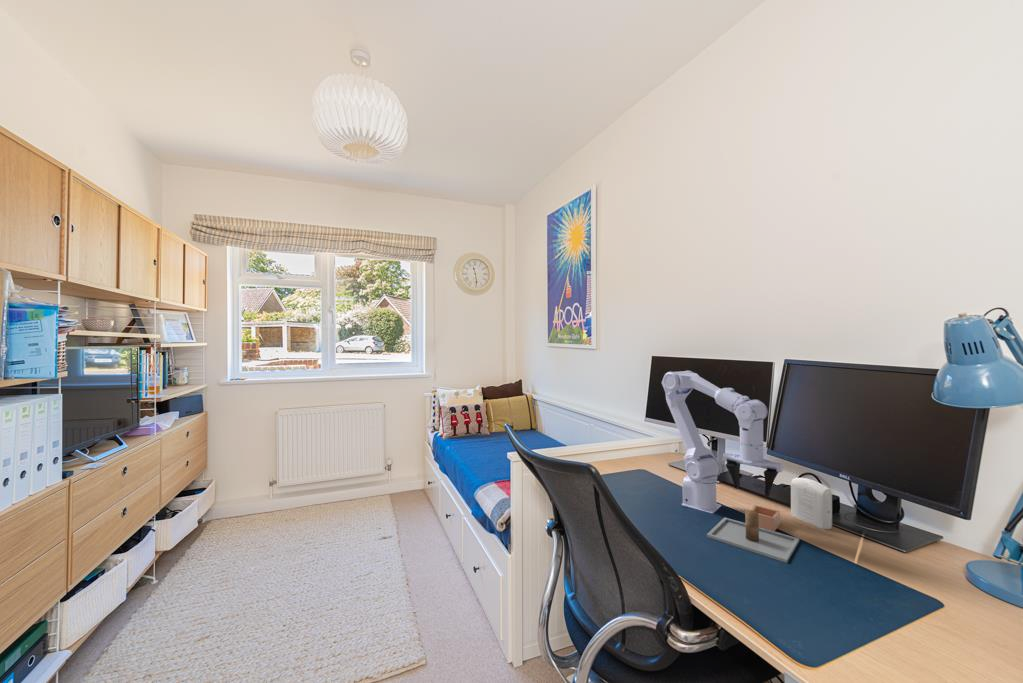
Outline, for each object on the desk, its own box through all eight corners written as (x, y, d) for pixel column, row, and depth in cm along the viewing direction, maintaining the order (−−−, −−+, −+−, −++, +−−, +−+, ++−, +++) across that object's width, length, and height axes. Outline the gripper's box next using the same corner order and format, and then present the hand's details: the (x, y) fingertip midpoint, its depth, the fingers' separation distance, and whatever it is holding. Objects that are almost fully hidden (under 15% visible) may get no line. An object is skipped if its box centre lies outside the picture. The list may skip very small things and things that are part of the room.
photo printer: (835, 529, 110) (834, 485, 110) (824, 532, 109) (823, 487, 109) (798, 514, 120) (798, 473, 120) (788, 516, 119) (787, 475, 119)
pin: (744, 539, 105) (743, 512, 105) (747, 535, 107) (747, 509, 107) (757, 543, 103) (756, 516, 103) (760, 538, 105) (759, 512, 105)
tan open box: (749, 525, 113) (749, 511, 113) (755, 518, 117) (755, 505, 117) (774, 532, 109) (774, 518, 109) (780, 525, 113) (779, 511, 113)
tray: (706, 538, 106) (706, 534, 106) (724, 521, 116) (724, 517, 116) (786, 565, 93) (786, 559, 93) (799, 543, 103) (799, 538, 103)
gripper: (718, 441, 114) (719, 488, 115) (777, 451, 104) (778, 502, 104) (727, 437, 119) (728, 481, 119) (784, 446, 109) (785, 495, 109)
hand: (752, 491), depth 112 cm, fingers open, 7 cm apart
